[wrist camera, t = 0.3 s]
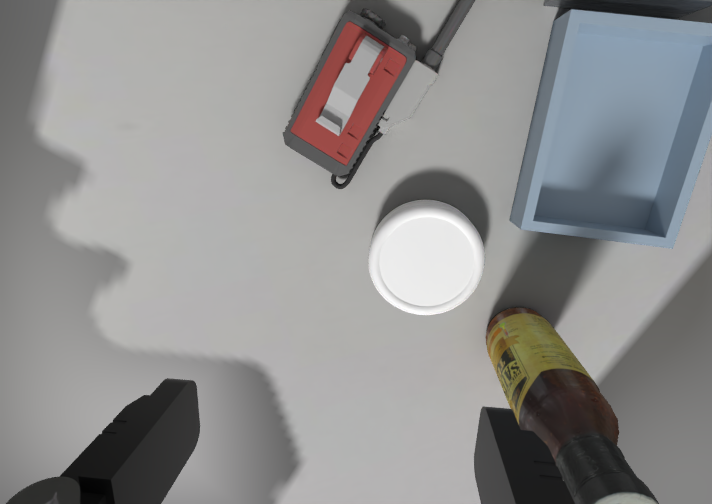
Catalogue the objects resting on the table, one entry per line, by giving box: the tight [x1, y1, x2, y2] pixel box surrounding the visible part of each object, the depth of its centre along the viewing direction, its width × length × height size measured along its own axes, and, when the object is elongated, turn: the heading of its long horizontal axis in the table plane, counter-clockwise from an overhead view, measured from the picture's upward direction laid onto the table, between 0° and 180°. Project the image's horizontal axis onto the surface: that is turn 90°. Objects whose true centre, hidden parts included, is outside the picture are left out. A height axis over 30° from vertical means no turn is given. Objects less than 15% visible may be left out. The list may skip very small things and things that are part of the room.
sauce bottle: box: [486, 307, 659, 504], centre depth 31 cm, size 6×6×20 cm
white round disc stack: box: [368, 200, 485, 315], centre depth 38 cm, size 10×10×4 cm
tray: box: [510, 9, 712, 249], centre depth 34 cm, size 16×12×4 cm
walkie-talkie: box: [283, 0, 475, 189], centre depth 34 cm, size 9×4×20 cm
